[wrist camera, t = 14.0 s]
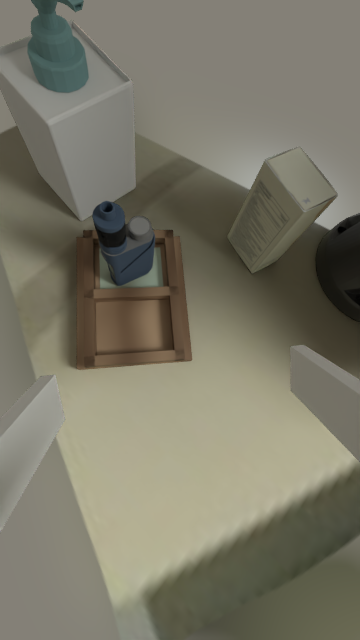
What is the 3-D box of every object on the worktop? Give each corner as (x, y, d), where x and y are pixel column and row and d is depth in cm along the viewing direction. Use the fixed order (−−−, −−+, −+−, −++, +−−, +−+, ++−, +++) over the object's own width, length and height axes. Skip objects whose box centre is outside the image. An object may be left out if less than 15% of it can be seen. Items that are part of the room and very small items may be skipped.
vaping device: (104, 270, 31) (82, 198, 19) (146, 252, 32) (148, 175, 21) (114, 290, 31) (98, 228, 19) (156, 271, 32) (164, 202, 20)
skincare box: (277, 261, 36) (343, 197, 24) (251, 275, 35) (306, 215, 23) (250, 222, 37) (301, 142, 25) (224, 234, 36) (264, 157, 24)
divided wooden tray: (178, 241, 35) (181, 230, 32) (190, 361, 31) (194, 358, 29) (79, 242, 33) (73, 230, 30) (79, 369, 29) (73, 367, 27)
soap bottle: (82, 223, 34) (11, 20, 15) (38, 174, 34) (-77, -74, 16) (137, 189, 36) (134, -23, 18) (95, 143, 37) (50, -103, 19)
